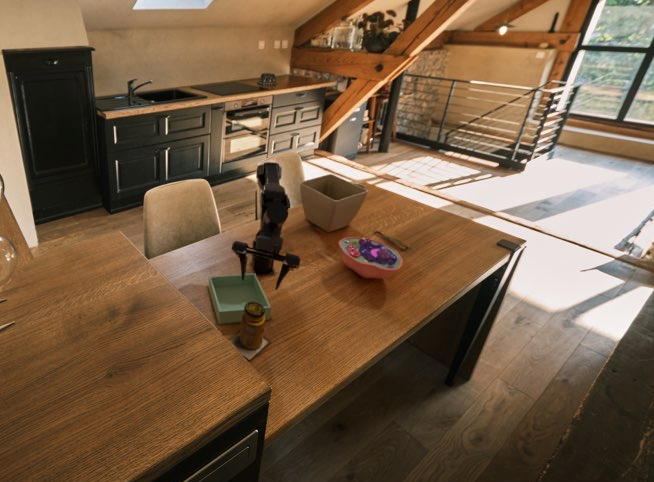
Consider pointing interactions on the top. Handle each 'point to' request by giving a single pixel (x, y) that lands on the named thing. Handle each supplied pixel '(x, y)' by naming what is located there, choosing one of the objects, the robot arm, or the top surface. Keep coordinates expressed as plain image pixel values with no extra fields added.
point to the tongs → (394, 240)
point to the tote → (236, 296)
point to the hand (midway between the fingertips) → (259, 285)
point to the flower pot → (331, 201)
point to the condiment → (251, 330)
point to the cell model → (369, 257)
